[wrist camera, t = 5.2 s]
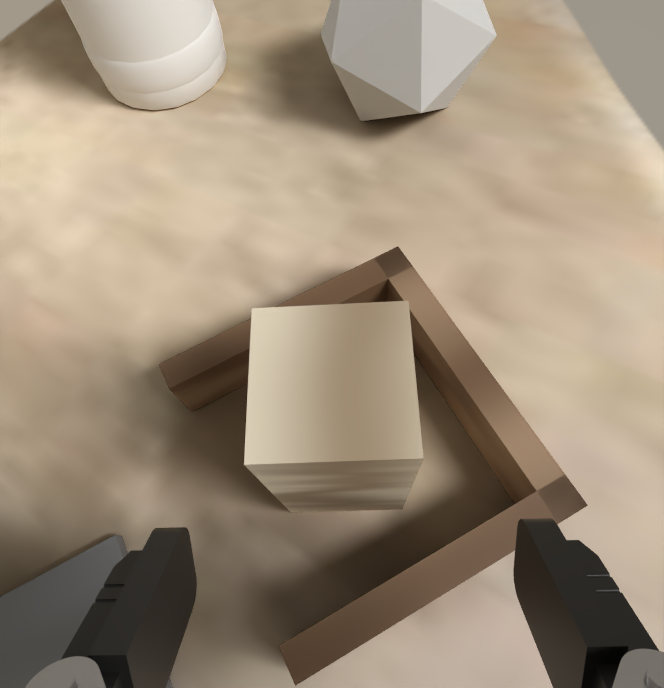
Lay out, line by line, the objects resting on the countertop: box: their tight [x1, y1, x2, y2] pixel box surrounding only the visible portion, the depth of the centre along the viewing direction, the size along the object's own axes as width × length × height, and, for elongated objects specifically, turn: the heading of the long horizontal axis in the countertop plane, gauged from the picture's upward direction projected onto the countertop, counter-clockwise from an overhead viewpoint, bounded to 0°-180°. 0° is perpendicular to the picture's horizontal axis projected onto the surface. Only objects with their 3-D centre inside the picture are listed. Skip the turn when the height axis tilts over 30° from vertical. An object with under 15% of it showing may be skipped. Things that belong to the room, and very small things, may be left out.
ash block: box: [244, 301, 424, 513], centre depth 18 cm, size 4×4×9 cm
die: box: [321, 0, 497, 121], centre depth 28 cm, size 8×9×10 cm
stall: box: [159, 247, 587, 685], centre depth 21 cm, size 12×11×3 cm
